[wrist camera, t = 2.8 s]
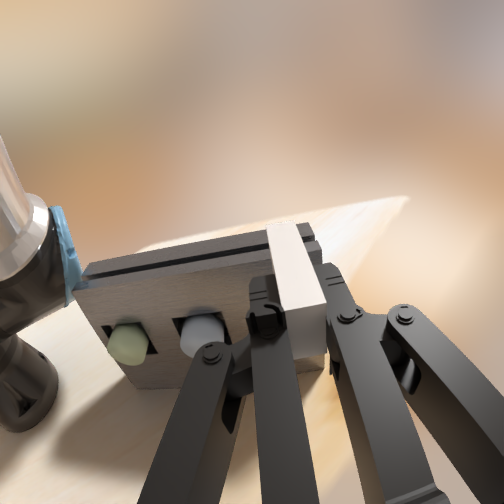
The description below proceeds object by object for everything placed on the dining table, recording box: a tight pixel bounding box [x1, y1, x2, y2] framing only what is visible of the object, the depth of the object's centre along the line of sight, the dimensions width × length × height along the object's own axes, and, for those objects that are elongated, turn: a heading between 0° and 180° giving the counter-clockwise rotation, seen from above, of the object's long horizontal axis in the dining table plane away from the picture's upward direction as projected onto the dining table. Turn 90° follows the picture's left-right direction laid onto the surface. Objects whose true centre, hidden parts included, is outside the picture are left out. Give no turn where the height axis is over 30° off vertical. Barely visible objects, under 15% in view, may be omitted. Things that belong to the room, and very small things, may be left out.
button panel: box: [71, 222, 324, 389], centre depth 30 cm, size 23×5×16 cm, turn 93°
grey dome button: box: [180, 313, 224, 358], centre depth 27 cm, size 4×2×4 cm, turn 93°
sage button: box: [107, 323, 149, 366], centre depth 27 cm, size 4×2×4 cm, turn 93°
